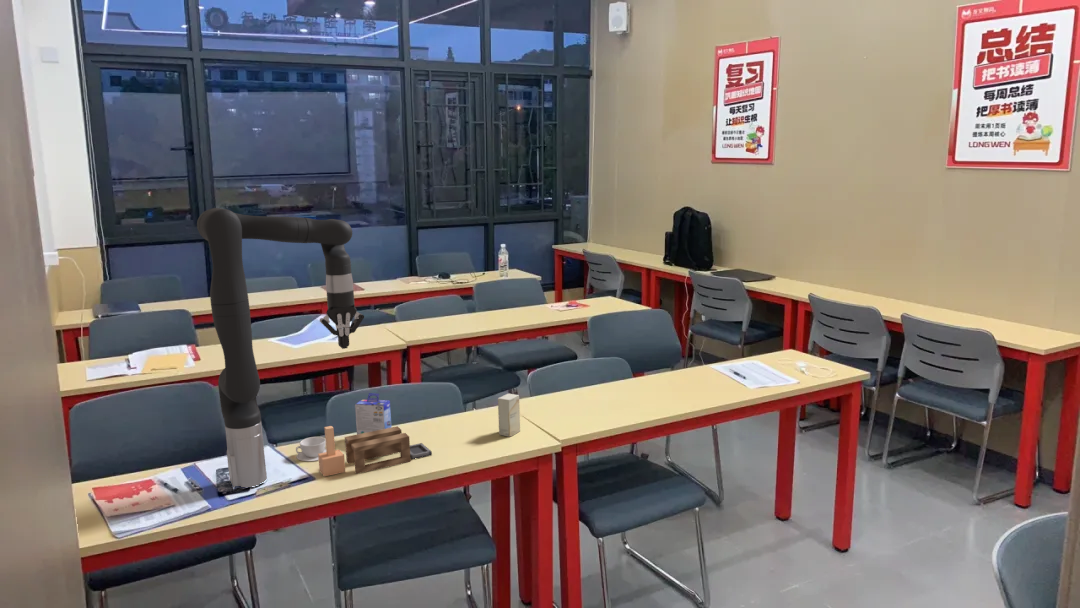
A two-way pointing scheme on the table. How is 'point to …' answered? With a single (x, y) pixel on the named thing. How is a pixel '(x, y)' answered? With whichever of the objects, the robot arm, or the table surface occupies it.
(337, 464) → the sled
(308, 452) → the teacup
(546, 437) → the table surface
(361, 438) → the tunnel
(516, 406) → the skincare box
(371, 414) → the ink cartridge box
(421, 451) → the tray
